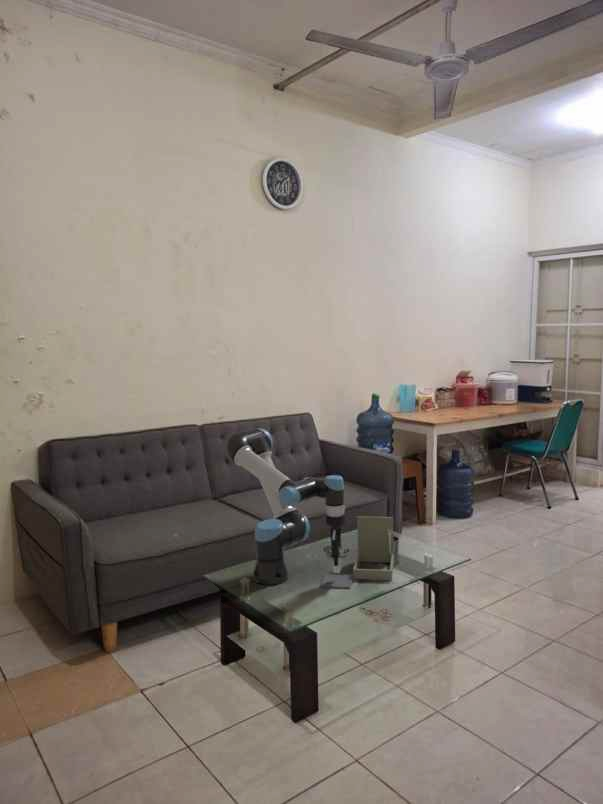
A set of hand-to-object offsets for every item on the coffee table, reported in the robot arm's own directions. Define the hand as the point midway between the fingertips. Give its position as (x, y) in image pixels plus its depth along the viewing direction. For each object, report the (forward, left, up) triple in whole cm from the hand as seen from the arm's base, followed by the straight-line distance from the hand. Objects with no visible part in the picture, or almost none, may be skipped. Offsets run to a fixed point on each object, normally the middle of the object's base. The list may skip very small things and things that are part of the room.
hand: (337, 570), depth 238 cm
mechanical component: (0, 0, 0) cm, 0 cm away
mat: (0, 0, -5) cm, 5 cm away
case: (+14, +14, -5) cm, 20 cm away
